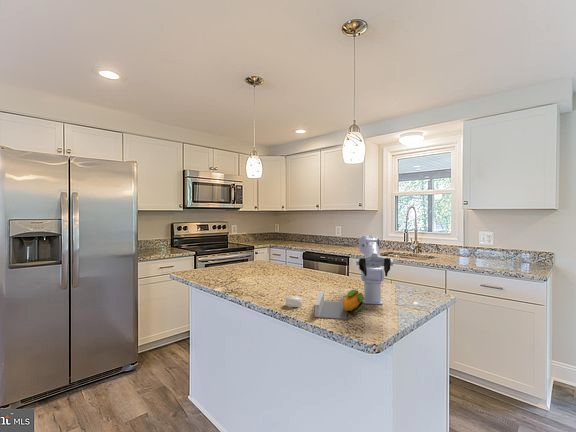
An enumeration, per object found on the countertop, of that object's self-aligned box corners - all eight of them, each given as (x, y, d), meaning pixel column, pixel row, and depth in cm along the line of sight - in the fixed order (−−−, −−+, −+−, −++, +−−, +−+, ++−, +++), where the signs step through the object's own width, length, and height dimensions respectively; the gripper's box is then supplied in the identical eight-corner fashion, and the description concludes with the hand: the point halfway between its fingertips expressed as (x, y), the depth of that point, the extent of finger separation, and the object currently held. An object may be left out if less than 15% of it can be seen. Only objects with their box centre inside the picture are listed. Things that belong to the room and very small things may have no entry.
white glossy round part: (287, 303, 136) (287, 295, 136) (302, 304, 135) (302, 296, 135) (284, 307, 130) (284, 299, 130) (300, 308, 128) (300, 300, 128)
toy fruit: (366, 287, 132) (356, 298, 114) (366, 305, 132) (356, 319, 113) (349, 286, 135) (337, 296, 117) (349, 303, 135) (337, 316, 116)
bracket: (320, 301, 138) (320, 290, 138) (347, 303, 135) (347, 291, 135) (314, 317, 116) (314, 304, 116) (346, 319, 114) (346, 306, 114)
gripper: (355, 247, 129) (356, 264, 117) (391, 247, 126) (396, 265, 114) (356, 261, 132) (356, 280, 120) (390, 261, 129) (395, 280, 117)
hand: (376, 274), depth 117 cm, fingers open, 7 cm apart
